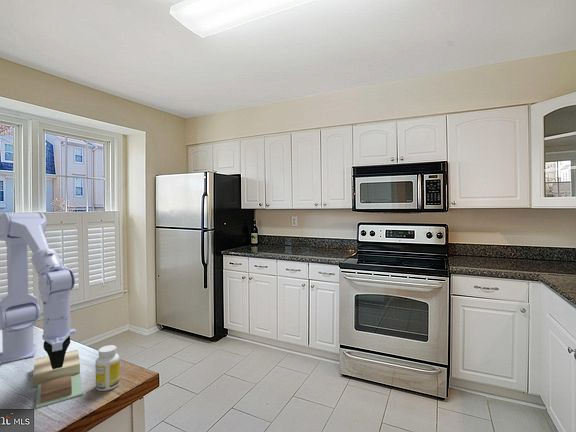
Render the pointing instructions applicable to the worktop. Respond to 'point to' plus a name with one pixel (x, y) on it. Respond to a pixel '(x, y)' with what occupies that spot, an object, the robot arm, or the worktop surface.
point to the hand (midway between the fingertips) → (57, 367)
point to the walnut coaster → (56, 389)
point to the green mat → (75, 393)
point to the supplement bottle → (107, 368)
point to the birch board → (46, 373)
